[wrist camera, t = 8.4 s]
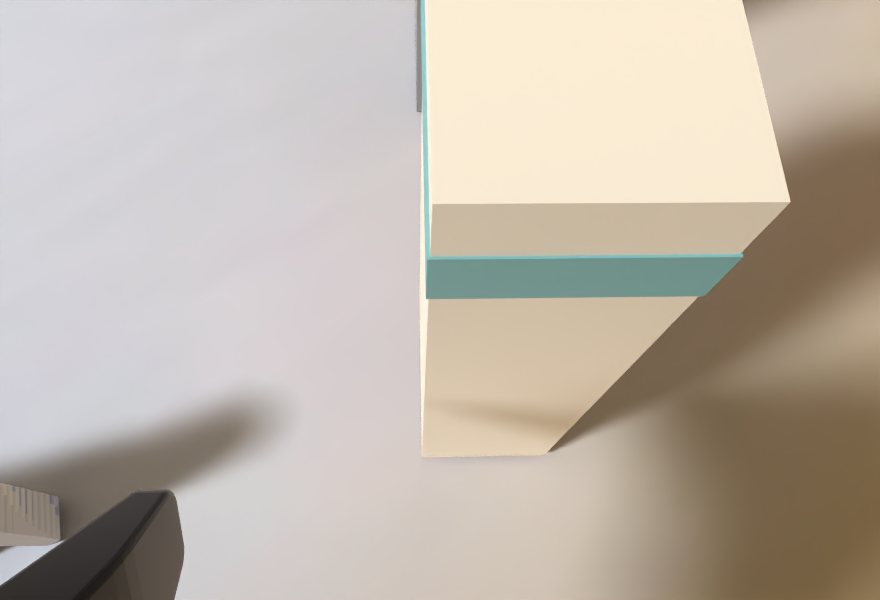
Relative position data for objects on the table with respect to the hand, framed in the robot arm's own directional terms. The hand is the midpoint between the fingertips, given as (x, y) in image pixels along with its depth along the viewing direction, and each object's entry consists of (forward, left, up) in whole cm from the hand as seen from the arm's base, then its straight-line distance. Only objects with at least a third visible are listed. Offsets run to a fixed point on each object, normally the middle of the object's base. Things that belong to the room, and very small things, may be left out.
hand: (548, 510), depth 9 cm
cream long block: (+3, -3, -8) cm, 9 cm away
